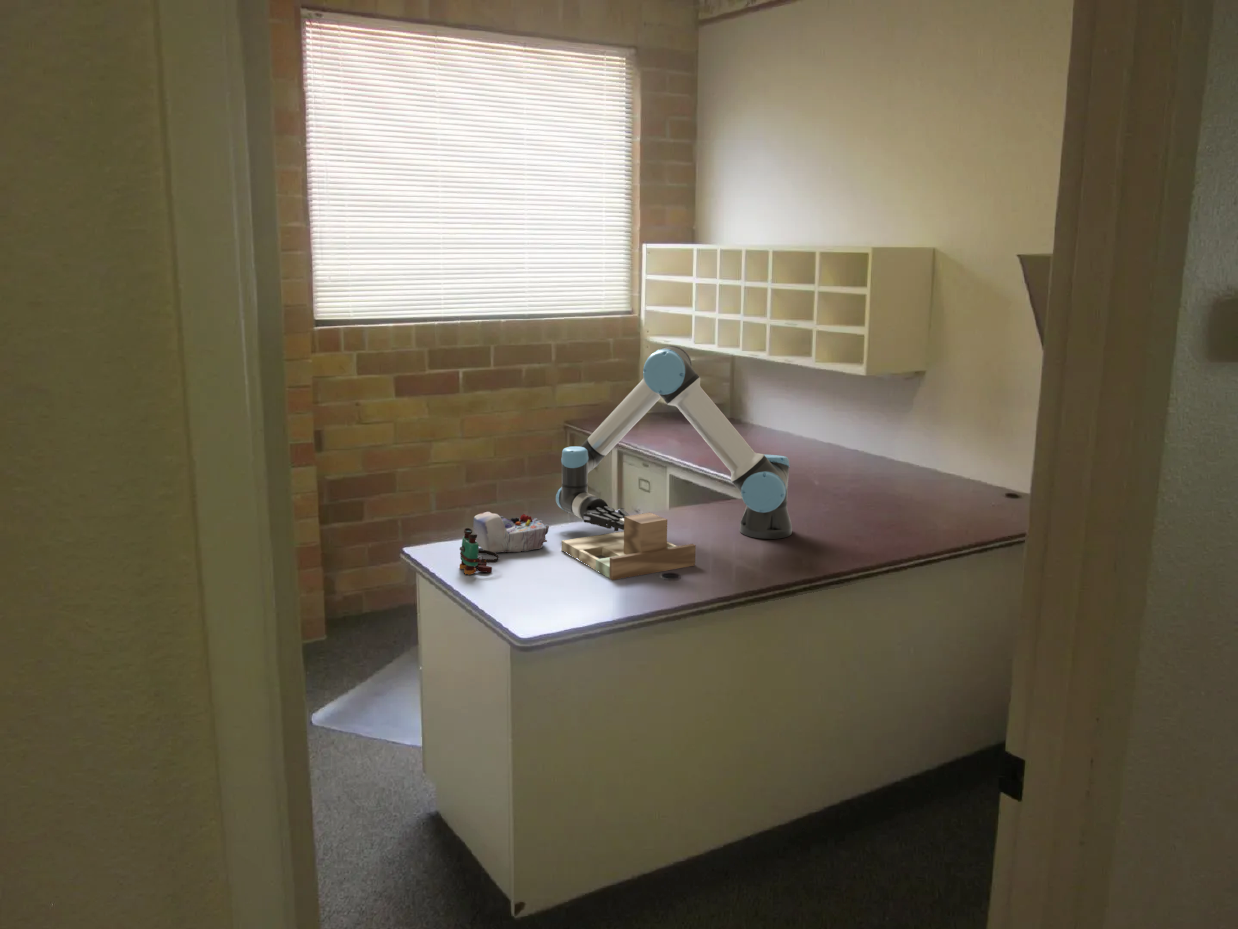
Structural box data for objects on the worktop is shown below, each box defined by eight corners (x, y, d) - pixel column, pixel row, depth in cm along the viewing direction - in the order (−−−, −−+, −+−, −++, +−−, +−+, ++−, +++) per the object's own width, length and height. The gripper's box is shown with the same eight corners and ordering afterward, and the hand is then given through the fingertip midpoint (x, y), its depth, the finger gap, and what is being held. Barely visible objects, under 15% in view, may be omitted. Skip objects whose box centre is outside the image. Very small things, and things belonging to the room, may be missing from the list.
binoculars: (504, 535, 252) (466, 535, 248) (500, 575, 254) (462, 576, 250) (494, 526, 260) (456, 526, 256) (490, 565, 262) (453, 566, 258)
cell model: (468, 509, 273) (533, 501, 284) (468, 547, 275) (532, 538, 286) (488, 519, 262) (555, 511, 273) (488, 559, 264) (554, 549, 275)
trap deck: (561, 551, 273) (561, 531, 271) (639, 538, 285) (639, 520, 284) (612, 580, 250) (612, 559, 248) (695, 565, 262) (695, 545, 261)
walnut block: (623, 553, 261) (624, 516, 259) (648, 548, 266) (649, 512, 264) (640, 561, 255) (641, 523, 253) (666, 556, 259) (667, 519, 257)
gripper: (610, 518, 286) (655, 539, 266) (570, 524, 280) (612, 546, 260) (610, 493, 284) (655, 512, 265) (570, 498, 278) (613, 518, 258)
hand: (634, 529), depth 262 cm, fingers closed
